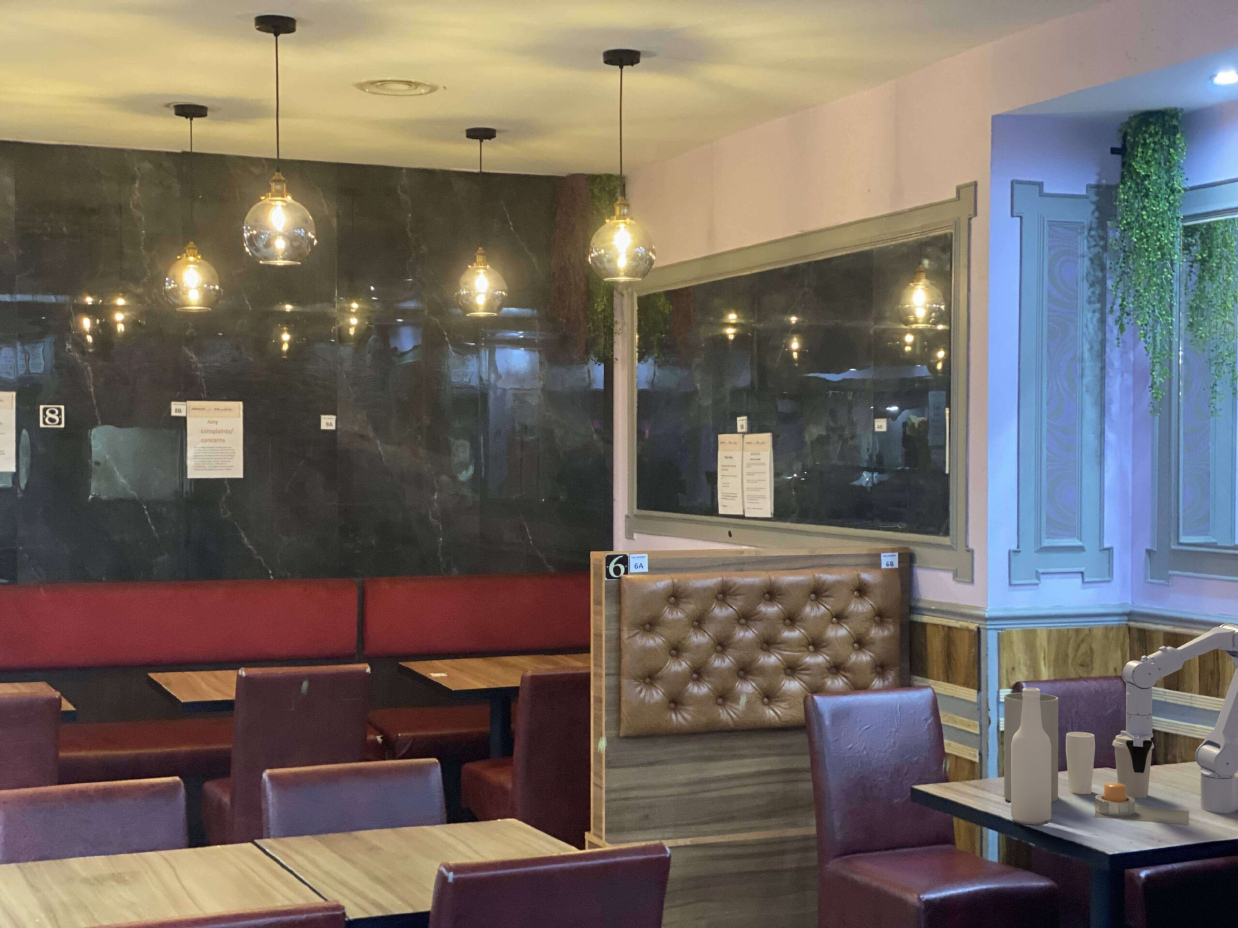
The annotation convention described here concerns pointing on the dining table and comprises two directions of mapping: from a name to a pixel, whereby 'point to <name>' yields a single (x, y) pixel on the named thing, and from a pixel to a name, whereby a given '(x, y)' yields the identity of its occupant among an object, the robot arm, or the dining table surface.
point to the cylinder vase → (1012, 726)
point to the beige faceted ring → (1115, 806)
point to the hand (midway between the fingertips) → (1139, 772)
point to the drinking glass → (1080, 761)
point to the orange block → (1115, 792)
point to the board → (1154, 815)
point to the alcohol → (1031, 765)
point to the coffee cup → (1131, 769)
